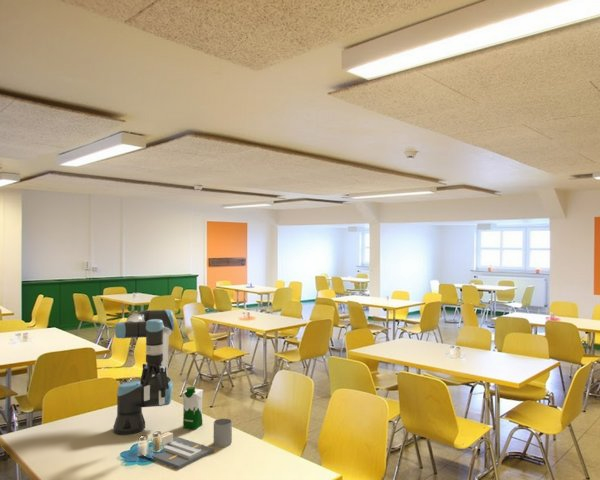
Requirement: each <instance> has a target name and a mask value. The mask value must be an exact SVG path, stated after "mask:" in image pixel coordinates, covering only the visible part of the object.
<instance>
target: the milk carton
mask: <svg viewBox="0 0 600 480" xmlns="http://www.w3.org/2000/svg"><path fill="white" fill-rule="evenodd" d="M203 393H204V389H202V388H201V389H199V388H195V387H193V386H189V387H186V390H185V391H183V392H182V399H183V402H182V403H183V406H182V407H183V408H182V409H183V411H182V413H183V418H182V429H187V430H192V431H196V430H197V429H199V428H200V427H201V426H202V425H203Z"/></svg>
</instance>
